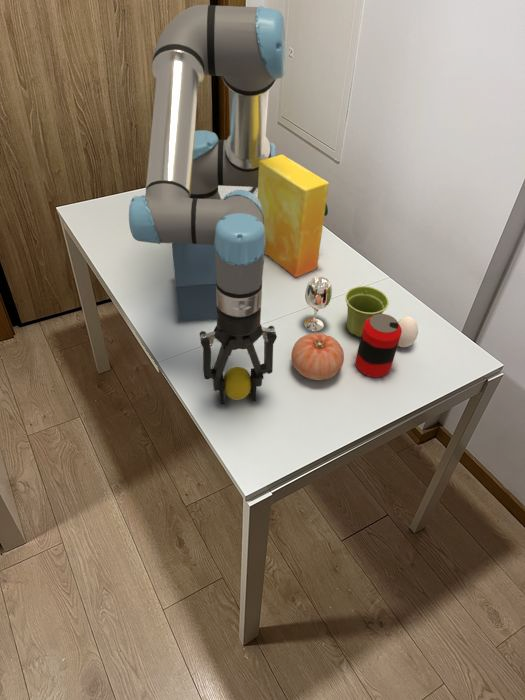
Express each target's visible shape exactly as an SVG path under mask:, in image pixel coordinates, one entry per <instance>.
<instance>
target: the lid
mask: <svg viewBox="0 0 525 700" xmlns="http://www.w3.org/2000/svg"><path fill="white" fill-rule="evenodd" d="M171 251H172V261H173V272H174V273H173V274H174V285H175V287H176V286H189V285H204V284H216V256H215V247H214V245H202V244H185V243H171Z"/></svg>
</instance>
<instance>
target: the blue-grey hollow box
mask: <svg viewBox="0 0 525 700" xmlns="http://www.w3.org/2000/svg"><path fill="white" fill-rule="evenodd" d="M175 296H176V306H177V307H176V309H177V320H178V323H184V322H185V323H187V322H196V321H198V322H199V321H208V320H209V321H211V320H217V311H216V308H217V304H216V284H204V285H189V286H175Z"/></svg>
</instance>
